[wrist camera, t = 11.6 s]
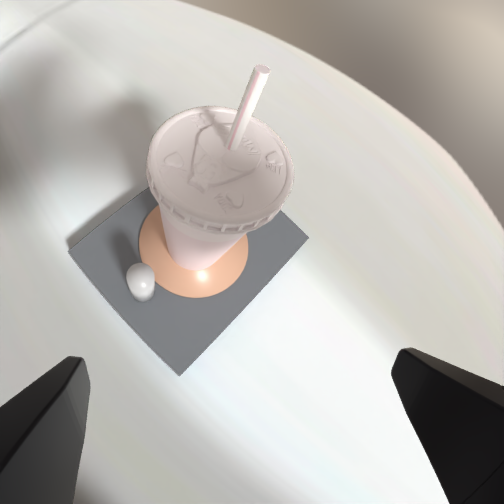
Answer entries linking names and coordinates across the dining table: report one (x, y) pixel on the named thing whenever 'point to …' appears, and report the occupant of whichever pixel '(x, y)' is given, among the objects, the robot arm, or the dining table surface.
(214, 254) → the smoothie
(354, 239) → the dining table surface
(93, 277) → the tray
